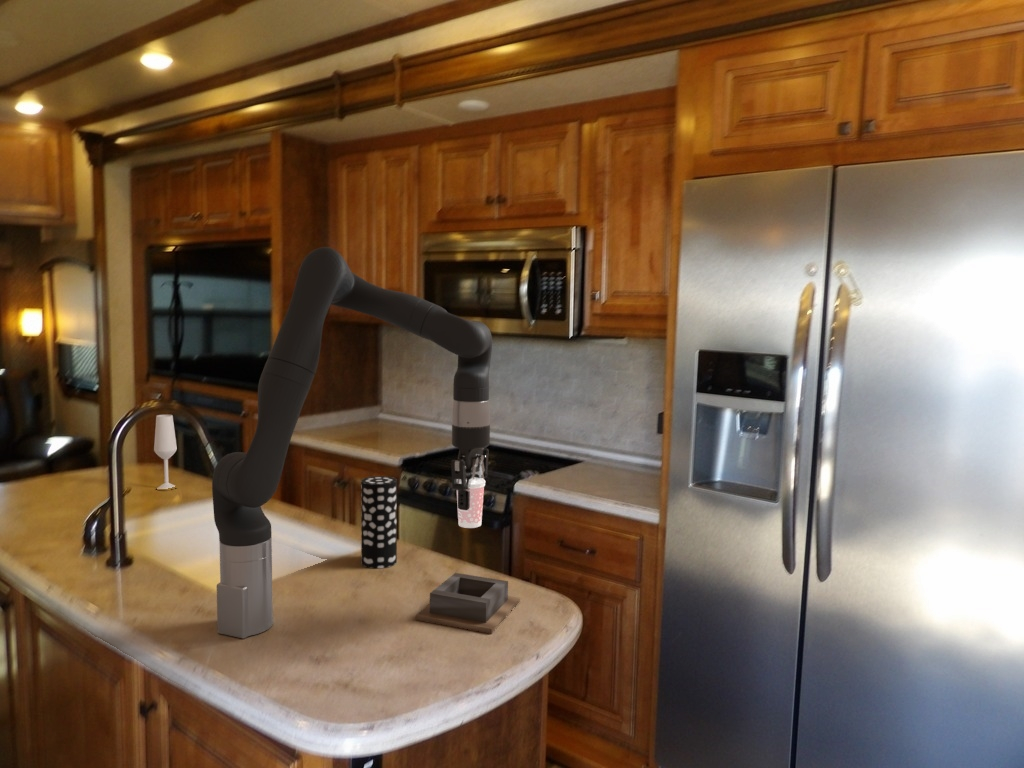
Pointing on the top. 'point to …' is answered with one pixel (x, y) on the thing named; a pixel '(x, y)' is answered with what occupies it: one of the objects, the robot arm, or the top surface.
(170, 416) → the champagne flute
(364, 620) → the top surface
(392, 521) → the white-spotted black cylinder
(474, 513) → the beverage cup
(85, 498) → the top surface
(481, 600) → the cup holder
